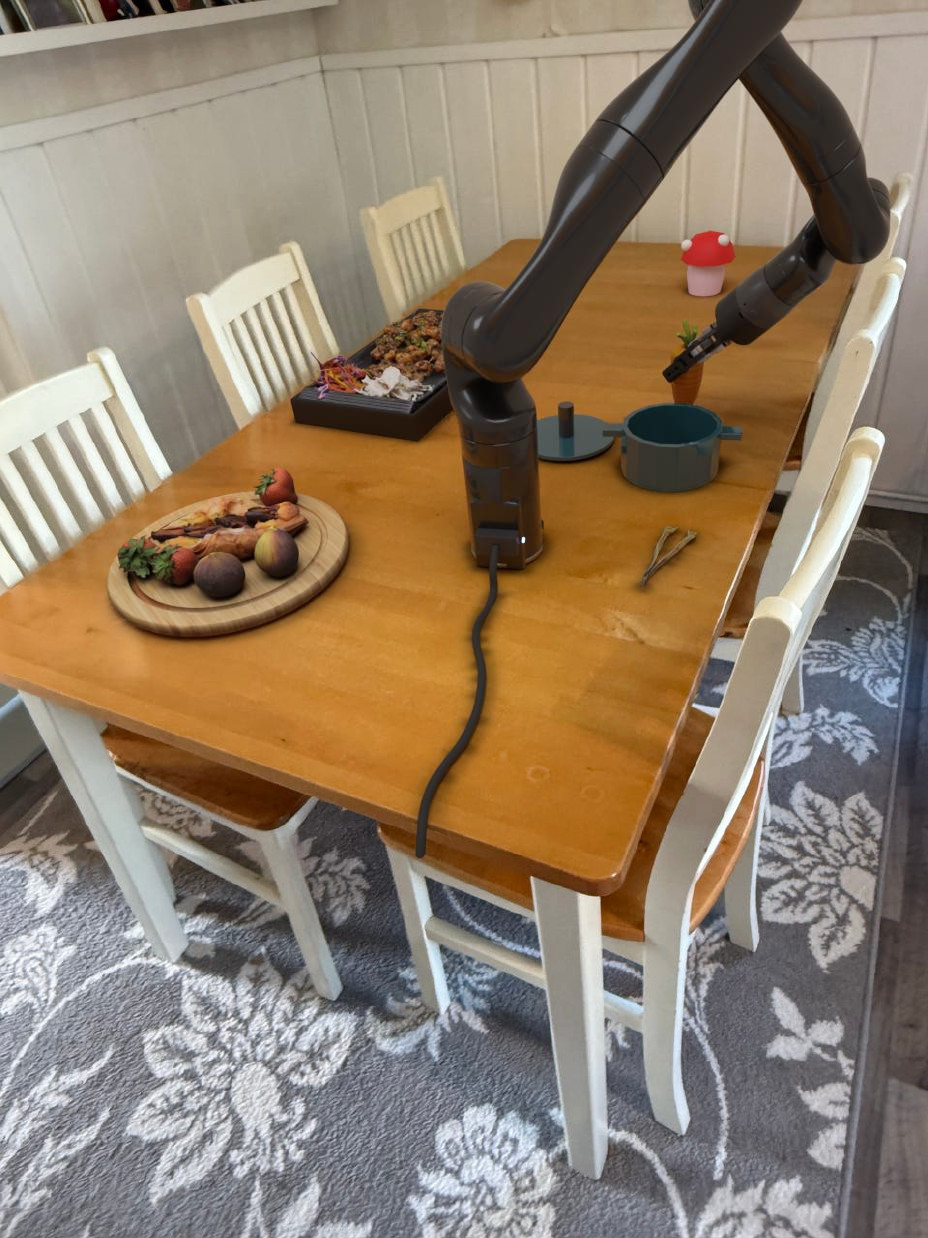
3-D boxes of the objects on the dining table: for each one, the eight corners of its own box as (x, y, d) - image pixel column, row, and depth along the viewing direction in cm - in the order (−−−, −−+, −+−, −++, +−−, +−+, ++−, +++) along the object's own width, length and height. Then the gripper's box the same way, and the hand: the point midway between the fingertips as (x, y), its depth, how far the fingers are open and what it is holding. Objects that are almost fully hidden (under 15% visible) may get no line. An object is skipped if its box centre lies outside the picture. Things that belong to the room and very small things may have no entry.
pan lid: (607, 466, 126) (608, 427, 122) (511, 462, 129) (508, 425, 125) (619, 421, 136) (619, 385, 133) (529, 419, 140) (527, 383, 136)
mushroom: (668, 290, 182) (671, 230, 175) (710, 278, 186) (715, 219, 178) (699, 302, 175) (704, 241, 167) (742, 290, 178) (749, 229, 170)
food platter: (417, 441, 138) (409, 380, 131) (295, 422, 148) (281, 365, 141) (529, 339, 168) (526, 285, 162) (421, 329, 178) (415, 278, 172)
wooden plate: (249, 483, 132) (235, 434, 127) (399, 541, 115) (390, 488, 110) (64, 587, 114) (39, 535, 109) (210, 676, 97) (189, 619, 92)
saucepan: (737, 495, 116) (742, 448, 112) (597, 488, 121) (597, 444, 116) (738, 448, 126) (743, 404, 122) (609, 444, 131) (609, 401, 127)
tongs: (632, 585, 102) (633, 571, 101) (666, 534, 111) (667, 520, 110) (666, 593, 101) (667, 579, 99) (697, 540, 110) (699, 526, 108)
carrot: (700, 423, 133) (707, 327, 124) (667, 423, 134) (672, 328, 125) (699, 409, 137) (706, 315, 128) (667, 409, 138) (672, 316, 129)
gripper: (765, 266, 122) (684, 336, 136) (717, 297, 114) (636, 368, 128) (795, 309, 122) (711, 374, 136) (749, 343, 114) (665, 408, 128)
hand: (675, 371), depth 132 cm, fingers closed on carrot, 4 cm apart
